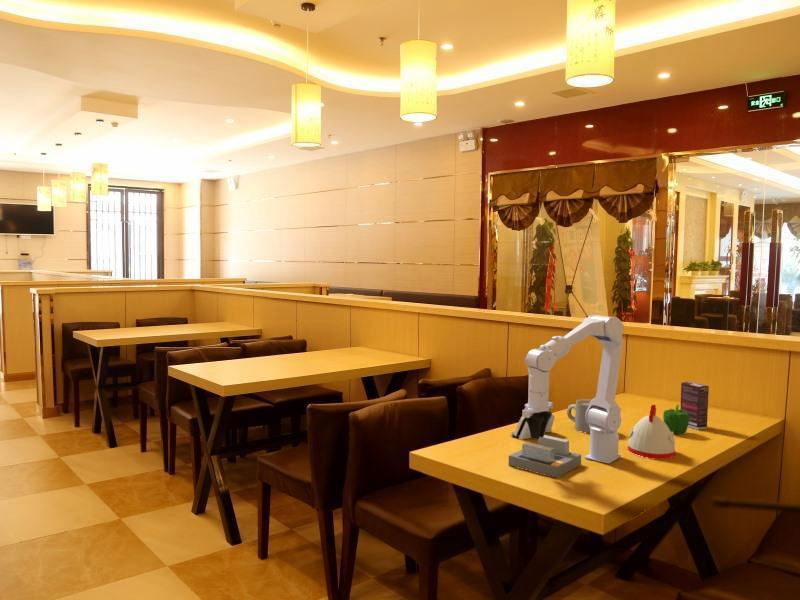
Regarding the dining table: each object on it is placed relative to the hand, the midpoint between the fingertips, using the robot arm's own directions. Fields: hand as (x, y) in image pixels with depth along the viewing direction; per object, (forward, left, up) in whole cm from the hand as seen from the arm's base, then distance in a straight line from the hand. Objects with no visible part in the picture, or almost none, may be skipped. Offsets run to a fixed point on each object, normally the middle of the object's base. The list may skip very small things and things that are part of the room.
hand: (537, 437), depth 179 cm
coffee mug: (-51, -8, -10) cm, 52 cm away
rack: (-5, 0, -9) cm, 11 cm away
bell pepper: (-68, +18, -10) cm, 71 cm away
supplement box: (-81, +20, -10) cm, 84 cm away
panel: (0, 0, -10) cm, 10 cm away
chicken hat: (-40, +19, -10) cm, 45 cm away
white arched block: (-31, -18, -10) cm, 37 cm away
